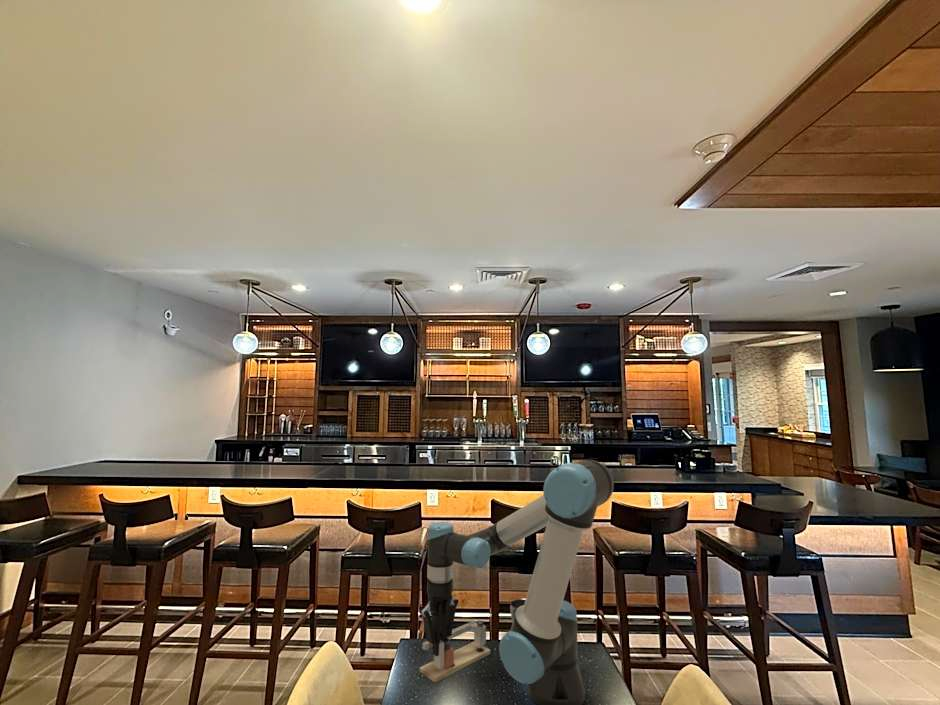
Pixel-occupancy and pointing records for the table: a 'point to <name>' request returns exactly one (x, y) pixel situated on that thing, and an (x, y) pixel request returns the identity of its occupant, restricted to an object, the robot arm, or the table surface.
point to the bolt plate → (455, 662)
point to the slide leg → (448, 655)
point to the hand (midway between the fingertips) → (438, 665)
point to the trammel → (471, 626)
